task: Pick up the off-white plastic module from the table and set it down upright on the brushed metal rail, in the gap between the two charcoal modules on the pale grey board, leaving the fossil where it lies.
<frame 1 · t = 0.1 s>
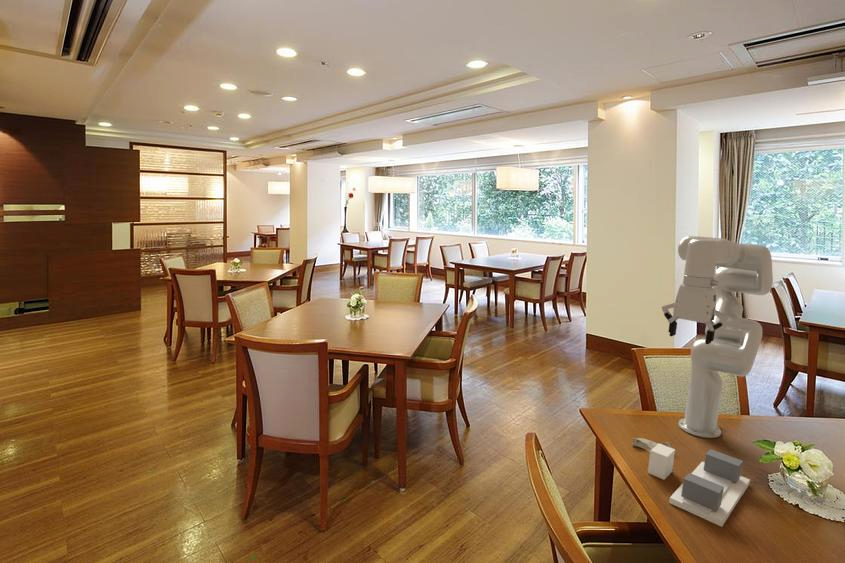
hand: (689, 339, 141), 37 cm above the table, tool pointing down, fingers open, 9 cm apart
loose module: (659, 472, 137), on the table
rail board: (710, 493, 128), on the table
fossil: (651, 450, 150), on the table
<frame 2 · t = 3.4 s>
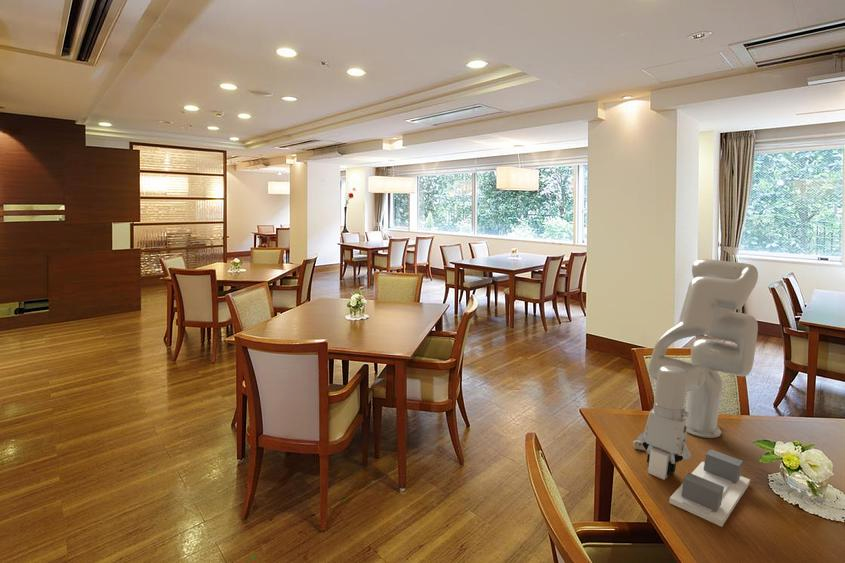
hand: (660, 469, 137), 1 cm above the table, tool pointing down, fingers closed on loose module, 4 cm apart
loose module: (659, 472, 137), on the table, touching gripper
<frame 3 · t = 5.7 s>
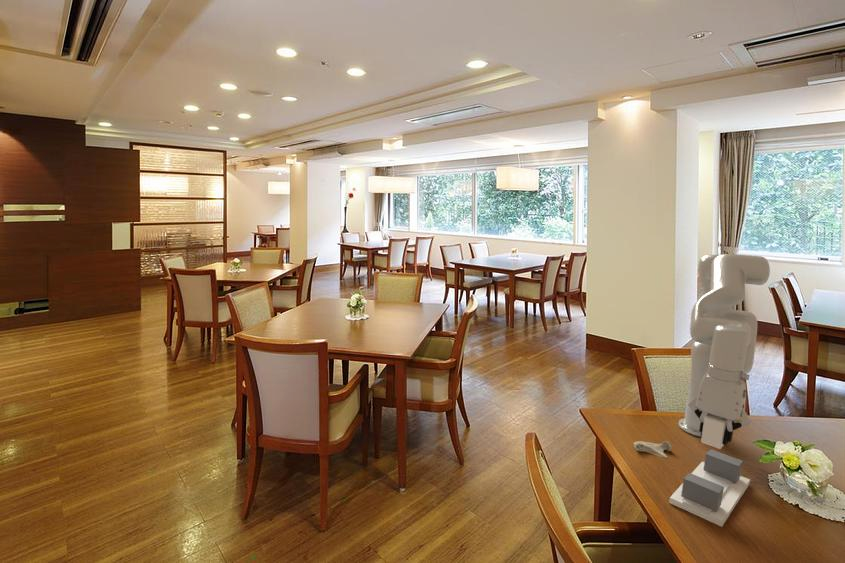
hand: (714, 438, 126), 15 cm above the table, tool pointing down, fingers closed on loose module, 4 cm apart
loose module: (714, 441, 126), point 14 cm above the table, touching gripper
when the fingers open (4 cm above the table, at t = 8.2 s): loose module drops 1 cm, resting on rail board.
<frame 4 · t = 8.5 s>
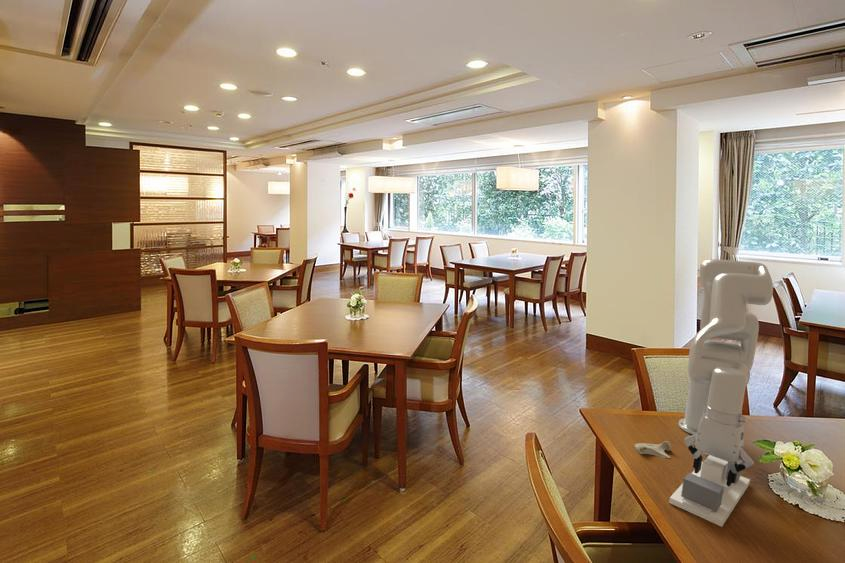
hand: (713, 477, 127), 5 cm above the table, tool pointing down, fingers open, 7 cm apart
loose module: (711, 486, 127), point 2 cm above the table, touching rail board
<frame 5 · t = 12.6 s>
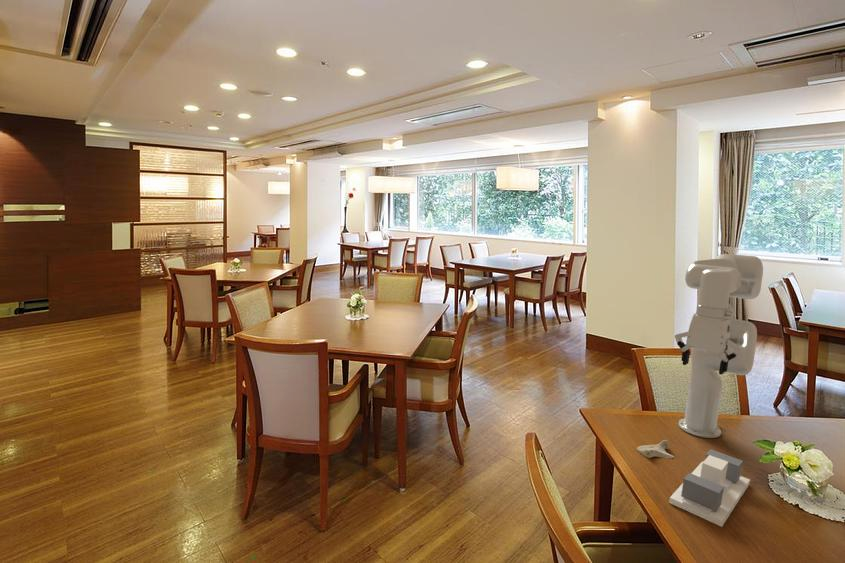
hand: (703, 368, 141), 28 cm above the table, tool pointing down, fingers open, 9 cm apart
at the end: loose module 0.0 cm off-centre on the rail board, point 2.0 cm above the rail board's base; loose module tilted 0°; the gripper is holding nothing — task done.
